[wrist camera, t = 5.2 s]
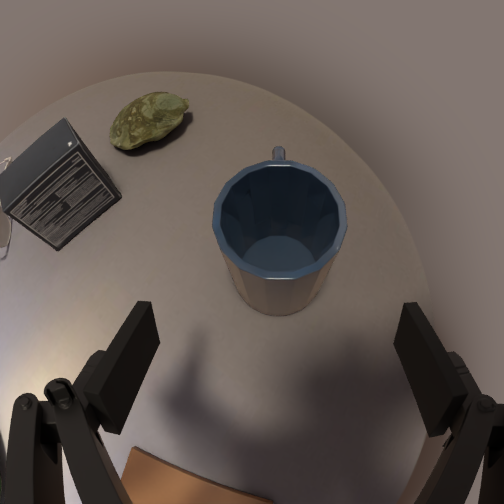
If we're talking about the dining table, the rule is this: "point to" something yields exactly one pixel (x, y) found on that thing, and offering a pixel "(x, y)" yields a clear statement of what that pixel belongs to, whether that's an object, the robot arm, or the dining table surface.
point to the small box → (56, 186)
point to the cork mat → (175, 484)
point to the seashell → (147, 119)
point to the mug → (279, 232)
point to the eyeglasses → (5, 219)
